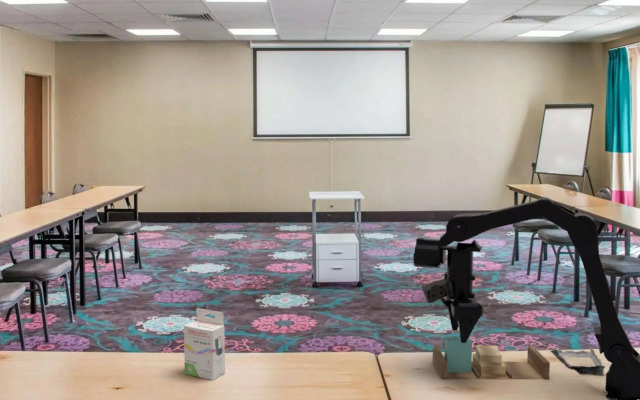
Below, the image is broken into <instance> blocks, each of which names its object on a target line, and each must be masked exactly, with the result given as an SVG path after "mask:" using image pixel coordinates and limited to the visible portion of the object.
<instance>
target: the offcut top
mask: <svg viewBox="0 0 640 400" xmlns="http://www.w3.org/2000/svg"><path fill="white" fill-rule="evenodd" d="M475 354H476V357H477V359H478V361H479V364H480V365H502V362H503V360H502V359H503V356H502V354H501V351H500V350H499V348H498V346H497V345H483V344H482V345H479V344H478V345H477V344H476V345H475Z"/></svg>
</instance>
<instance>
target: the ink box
mask: <svg viewBox="0 0 640 400" xmlns="http://www.w3.org/2000/svg"><path fill="white" fill-rule="evenodd" d="M195 311H196V312H195V313H196V320H195V321H191V322H189V323H186V324H184V325H183V332H184V333H183V341H184V346H183V349H184V353H183V354H184V374H185V375H188V376H193V377H197V378H202V379H206V380H211V381H214V380H216V379H217V378H219V377H220V376H223V375H224V374H225V373H226V357H225V356H226V355H225V353H226V352H225V350H226V349H225V341H226V340H225V323H224V322H225V321H224V320H225V319H224V318H225V317H224V313H223V311H216V310H211V309H206V308H205V309H204V308H199V307H197V308H196V309H195ZM209 314H210V315H211V316H214V317H209V316H206V315H209Z"/></svg>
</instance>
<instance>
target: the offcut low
mask: <svg viewBox="0 0 640 400" xmlns="http://www.w3.org/2000/svg"><path fill="white" fill-rule="evenodd" d="M472 362H473V365H474V367H475V368H476V370H477V371H478V373H479V374H480V375H481V377H506V366H505V364H504V363H503V362H504V361H502V365H480V364H479V361H478V359H477V357H476V353H472Z"/></svg>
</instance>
